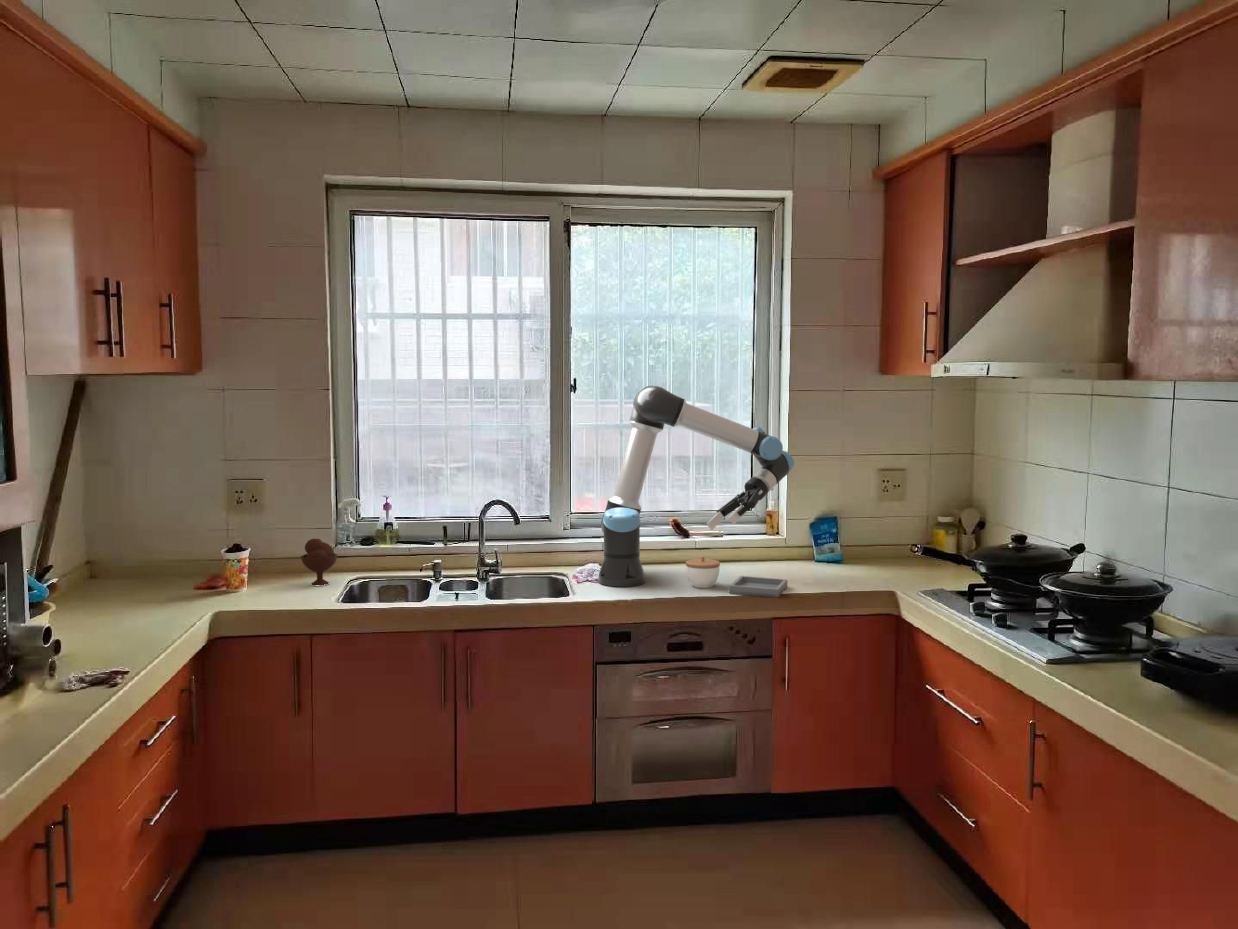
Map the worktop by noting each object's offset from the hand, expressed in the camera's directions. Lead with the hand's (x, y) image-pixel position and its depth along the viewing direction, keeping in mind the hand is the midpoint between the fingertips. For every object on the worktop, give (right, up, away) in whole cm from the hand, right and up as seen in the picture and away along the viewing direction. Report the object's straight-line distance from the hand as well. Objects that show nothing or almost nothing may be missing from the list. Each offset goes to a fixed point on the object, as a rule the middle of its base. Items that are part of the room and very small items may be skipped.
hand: (719, 524), depth 288 cm
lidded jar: (-6, -19, -5) cm, 21 cm away
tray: (+11, -20, -12) cm, 25 cm away
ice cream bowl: (-129, -19, -3) cm, 130 cm away
